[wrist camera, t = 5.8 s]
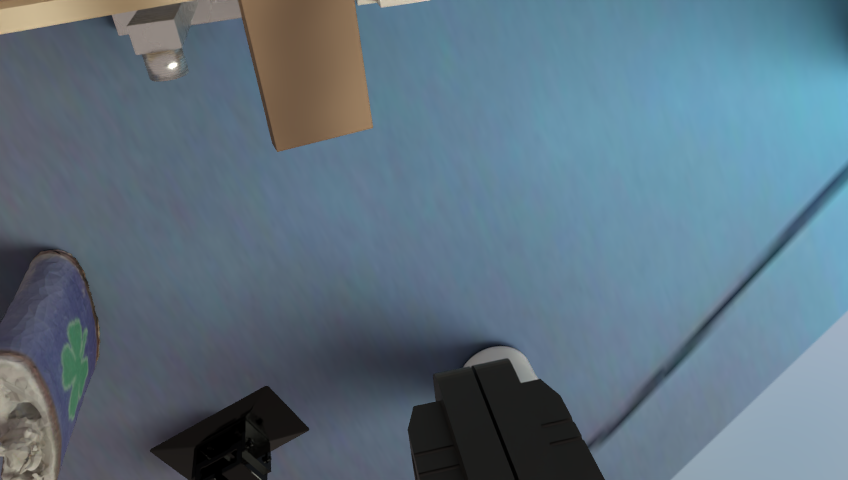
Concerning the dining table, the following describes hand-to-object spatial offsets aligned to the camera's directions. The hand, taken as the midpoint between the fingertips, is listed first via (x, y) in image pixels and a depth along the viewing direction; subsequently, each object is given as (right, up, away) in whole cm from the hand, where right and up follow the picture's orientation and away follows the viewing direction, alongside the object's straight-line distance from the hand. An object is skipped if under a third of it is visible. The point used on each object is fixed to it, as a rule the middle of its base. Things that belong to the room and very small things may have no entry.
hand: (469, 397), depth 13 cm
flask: (-21, -1, +24) cm, 32 cm away
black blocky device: (-14, -10, +33) cm, 37 cm away
